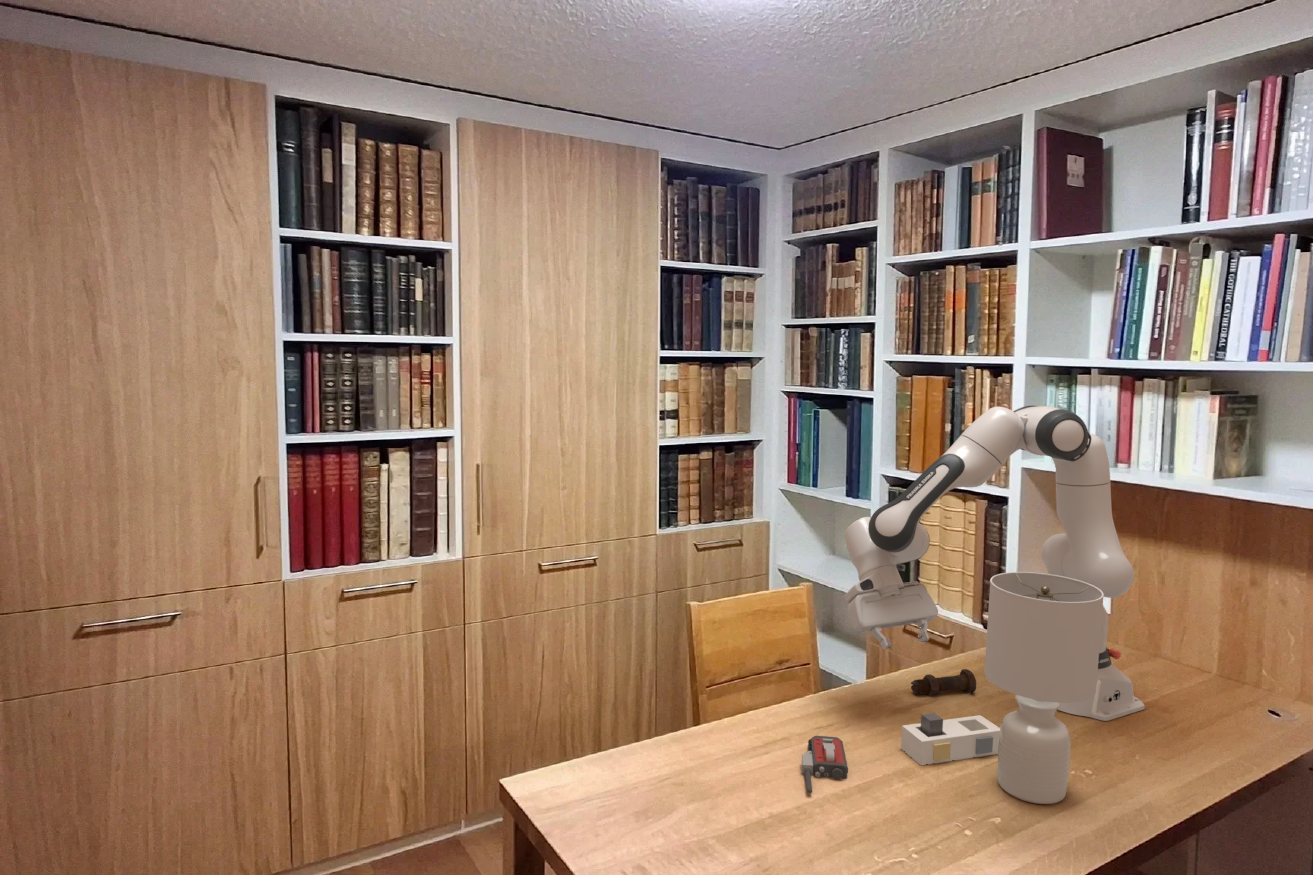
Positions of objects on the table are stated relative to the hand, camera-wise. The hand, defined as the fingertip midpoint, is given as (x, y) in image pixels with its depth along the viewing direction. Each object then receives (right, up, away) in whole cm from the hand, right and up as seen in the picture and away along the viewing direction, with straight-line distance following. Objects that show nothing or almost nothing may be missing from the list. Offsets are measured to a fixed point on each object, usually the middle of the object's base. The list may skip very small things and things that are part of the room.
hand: (906, 644), depth 176 cm
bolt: (+14, -17, +19) cm, 29 cm away
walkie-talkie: (-22, -21, -18) cm, 35 cm away
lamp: (+16, -21, -23) cm, 36 cm away
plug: (+1, -20, -11) cm, 22 cm away
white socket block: (+6, -20, -9) cm, 23 cm away
